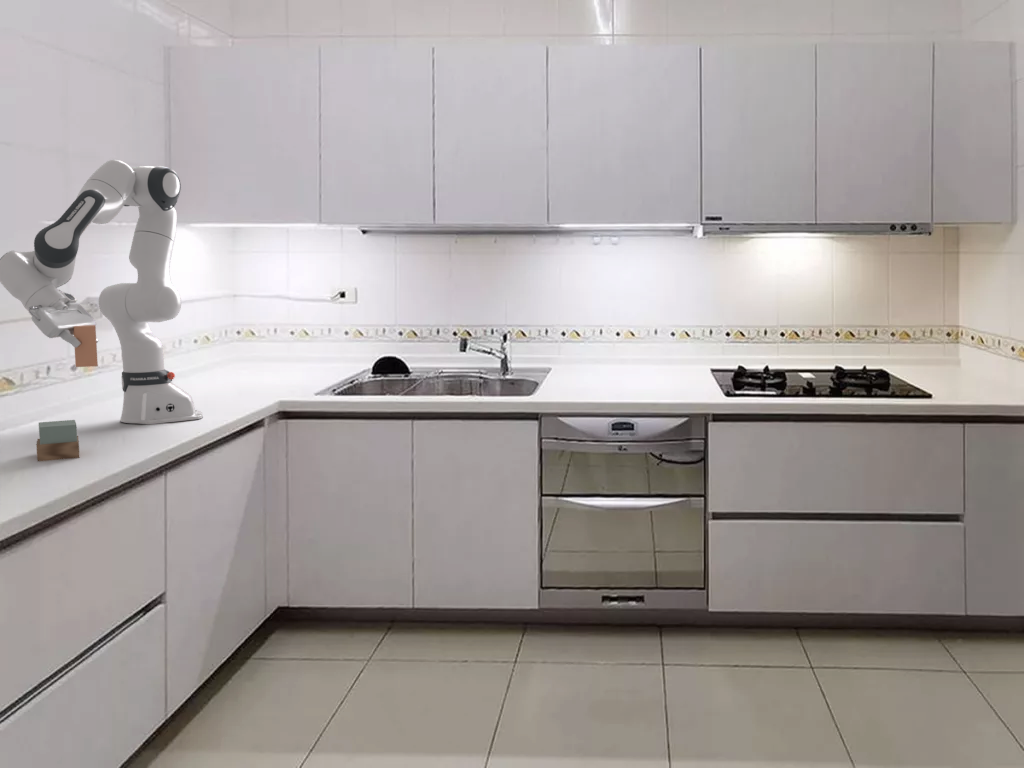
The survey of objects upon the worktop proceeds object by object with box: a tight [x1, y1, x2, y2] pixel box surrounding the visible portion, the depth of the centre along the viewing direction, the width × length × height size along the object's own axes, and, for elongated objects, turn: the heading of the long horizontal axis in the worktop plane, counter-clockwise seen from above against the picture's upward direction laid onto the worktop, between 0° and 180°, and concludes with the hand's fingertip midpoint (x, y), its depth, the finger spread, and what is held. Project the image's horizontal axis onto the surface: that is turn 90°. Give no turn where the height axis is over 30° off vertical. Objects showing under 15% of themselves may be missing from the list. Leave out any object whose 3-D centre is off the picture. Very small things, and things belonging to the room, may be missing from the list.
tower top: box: [38, 419, 78, 444], centre depth 248 cm, size 8×8×4 cm
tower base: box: [35, 435, 80, 462], centre depth 249 cm, size 9×9×4 cm
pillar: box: [73, 325, 99, 368], centre depth 264 cm, size 5×5×10 cm
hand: (87, 344), depth 264 cm, fingers closed on pillar, 7 cm apart
